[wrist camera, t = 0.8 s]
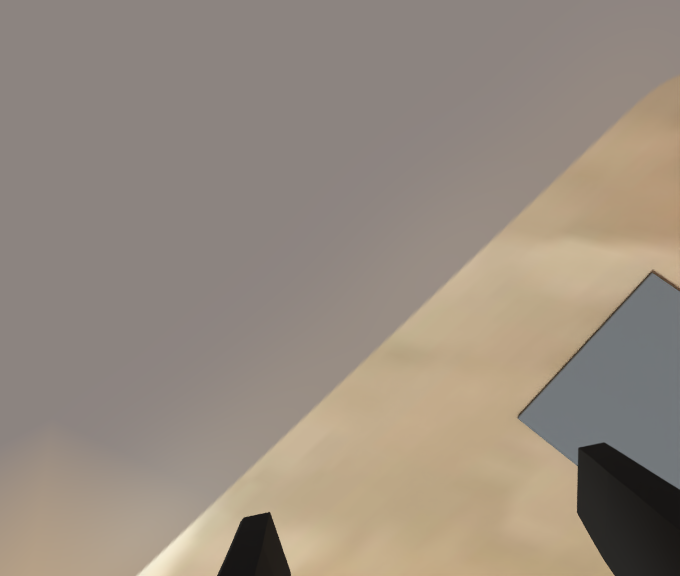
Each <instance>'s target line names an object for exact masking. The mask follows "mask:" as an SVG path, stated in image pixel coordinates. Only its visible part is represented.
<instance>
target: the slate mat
mask: <svg viewBox="0 0 680 576" xmlns="http://www.w3.org/2000/svg"><path fill="white" fill-rule="evenodd" d="M517 418H518V419H519V420H520V421H522V422H523V423H524V424H525V425H527V426H528V427H529V428H530V429H532V430H533V431H534V432H535V433H537V434H538V435H539V436H540V437H542V438H543V439H544V440H546V441H547V442H548V443H549V444H551V445H552V446H553V447H554V448H556V449H557V450H558V451H559V452H561V453H562V454H563V455H564V456H566V457H567V458H568V459H569V460H571V461H572V462H573V463H574V464H576V465H577V466H578V448H579V447H584V446H588V445H593V444H598V443H603V442H605V443H606V444H608V445H610V446H611V447H613V448H615V449H616V450H618V451H619V452H621V453H623V454H624V455H626V456H627V457H629V458H630V459H632V460H634V461H635V462H637V463H638V464H640V465H642V466H643V467H645V468H646V469H648V470H649V471H651V472H653V473H654V474H656V475H657V476H659V477H661V478H662V479H664V480H665V481H667V482H668V483H670V484H672V485H673V486H675V487H676V488H678V489H680V291H678V290H677V289H675V288H674V287H672V286H671V285H669V284H668V283H667V282H665V281H664V280H662V279H661V278H659V277H658V276H656V275H655V274H653V273H651V274H650V275H649V276H648V277H647V278H646V279H645V280H644V281H643V282H642V283H641V284H640V285H639V287H638V288H637V289H636V290H635V291H634V292H633V293H632V294H631V295H630V296H629V297H628V298H627V299H626V301H625V302H624V303H623V304H622V305H621V306H620V307H619V308H618V309H617V310H616V311H615V312H614V314H613V315H612V316H611V317H610V318H609V319H608V320H607V321H606V322H605V323H604V324H603V325H602V327H601V328H600V329H599V330H598V331H597V332H596V333H595V334H594V335H593V336H592V337H591V338H590V339H589V341H588V342H587V343H586V344H585V345H584V346H583V347H582V348H581V349H580V350H579V351H578V352H577V354H576V355H575V356H574V357H573V358H572V359H571V360H570V361H569V362H568V363H567V364H566V365H565V366H564V368H563V369H562V370H561V371H560V372H559V373H558V374H557V375H556V376H555V377H554V378H553V379H552V381H551V382H550V383H549V384H548V385H547V386H546V387H545V388H544V389H543V390H542V391H541V392H540V393H539V395H538V396H537V397H536V398H535V399H534V400H533V401H532V402H531V403H530V404H529V405H528V406H527V408H526V409H525V410H524V411H523V412H522V413H521V414H520V415H519V416H518V417H517Z"/></svg>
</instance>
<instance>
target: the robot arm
mask: <svg viewBox="0 0 680 576" xmlns="http://www.w3.org/2000/svg"><path fill="white" fill-rule="evenodd" d="M577 513H578V515H579V517H580V519H581V521H582V522H583V524H584V526H585V528H586V530H587V531H588V533H589V535H590V537H591V539H592V540H593V542H594V544H595V545H596V547H597V549H598V551H599V552H600V554H601V556H602V557H603V559H604V561H605V562H606V564H607V565H608V566H609V568H610V569H611V571H612V572H613V574H614V575H615V576H680V489H678V488H676V487H675V486H673V485H672V484H670V483H668V482H667V481H665V480H664V479H662V478H661V477H659V476H657V475H656V474H654V473H653V472H651V471H649V470H648V469H646V468H645V467H643V466H642V465H640V464H638V463H637V462H635V461H634V460H632V459H630V458H629V457H627V456H626V455H624V454H623V453H621V452H619V451H618V450H616V449H615V448H613V447H611V446H610V445H608V444H606V443H605V442H603V443H598V444H593V445H588V446H584V447H579V448H578V489H577ZM217 576H291V572H290V569H289V566H288V563H287V560H286V557H285V554H284V552H283V549H282V546H281V543H280V540H279V537H278V534H277V531H276V528H275V525H274V522H273V519H272V516H271V514H270V512H268V513H263V514H258V515H254V516H249V517H244V518H243V519H242V521H241V522H240V525H239V527H238V529H237V532H236V534H235V536H234V539H233V541H232V544H231V546H230V548H229V550H228V553H227V555H226V557H225V560H224V562H223V564H222V566H221V568H220V571H219V573H218V575H217Z"/></svg>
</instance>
